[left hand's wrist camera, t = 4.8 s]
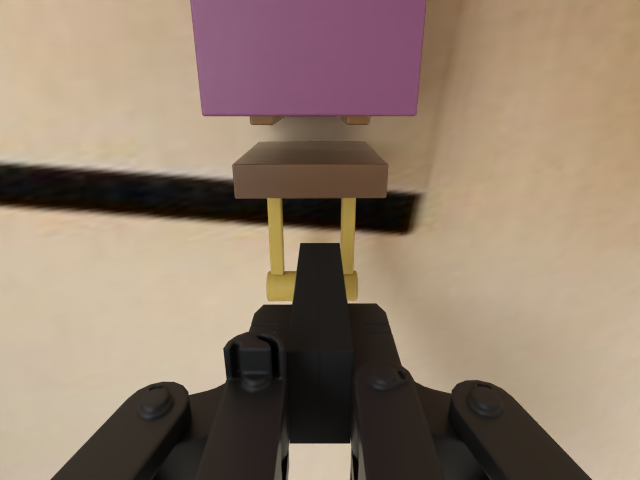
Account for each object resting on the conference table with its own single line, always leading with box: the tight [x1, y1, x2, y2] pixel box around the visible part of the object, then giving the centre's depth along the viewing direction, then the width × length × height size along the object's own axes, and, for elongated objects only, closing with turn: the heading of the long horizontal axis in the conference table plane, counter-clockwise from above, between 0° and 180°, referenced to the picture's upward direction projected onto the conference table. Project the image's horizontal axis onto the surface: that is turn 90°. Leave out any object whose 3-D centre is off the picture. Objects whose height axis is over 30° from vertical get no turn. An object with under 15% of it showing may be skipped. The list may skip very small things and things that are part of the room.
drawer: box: [232, 116, 388, 301], centre depth 15 cm, size 21×5×7 cm, turn 0°
